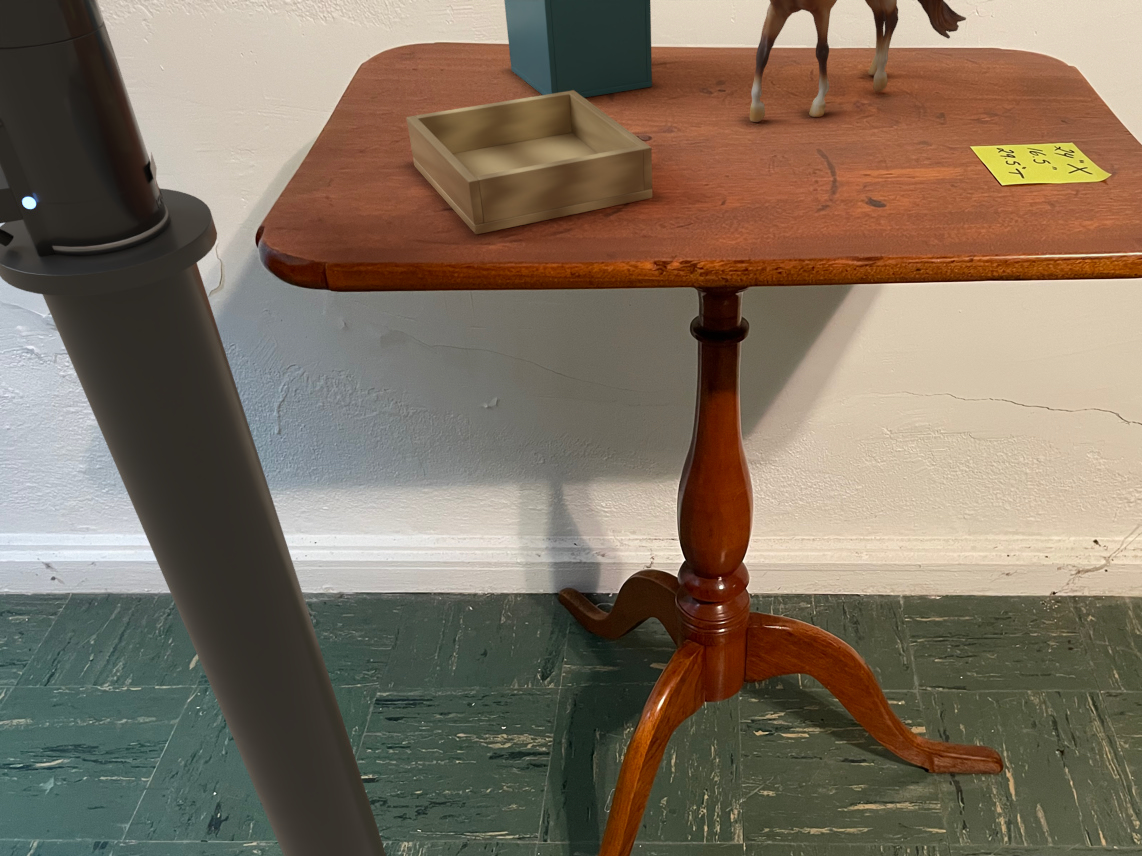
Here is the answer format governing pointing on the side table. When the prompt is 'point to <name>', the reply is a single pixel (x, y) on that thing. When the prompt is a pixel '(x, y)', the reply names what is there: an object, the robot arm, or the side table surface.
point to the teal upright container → (580, 45)
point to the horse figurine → (819, 6)
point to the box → (529, 160)
